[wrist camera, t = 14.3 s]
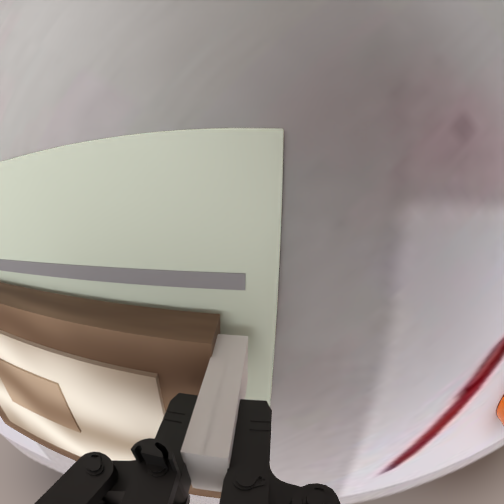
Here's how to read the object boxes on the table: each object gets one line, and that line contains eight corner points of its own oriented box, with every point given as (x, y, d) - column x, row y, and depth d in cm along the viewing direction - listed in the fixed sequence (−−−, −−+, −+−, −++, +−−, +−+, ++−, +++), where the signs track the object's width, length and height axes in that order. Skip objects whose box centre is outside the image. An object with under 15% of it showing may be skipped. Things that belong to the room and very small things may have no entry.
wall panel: (-50, 181, 13) (-58, 183, 12) (282, 131, 12) (283, 128, 11) (19, 413, 21) (14, 418, 20) (262, 475, 20) (262, 485, 18)
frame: (-37, 273, 14) (-62, 286, 11) (220, 313, 13) (208, 352, 10) (20, 415, 18) (6, 432, 15) (225, 478, 18) (221, 508, 15)
